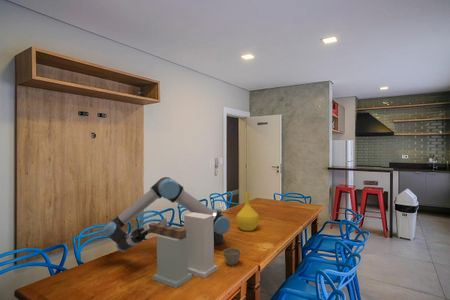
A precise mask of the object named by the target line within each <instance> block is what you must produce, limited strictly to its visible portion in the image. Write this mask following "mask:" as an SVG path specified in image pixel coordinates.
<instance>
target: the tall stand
mask: <svg viewBox="0 0 450 300" xmlns="http://www.w3.org/2000/svg"><path fill="white" fill-rule="evenodd" d="M183 223H184V225H183V226H184V227H183V229H186V236H188V273H191V274H192V276H196V277H199V278H202V279H205V278H207V277H209V276H210V275H211V274H213V273H214V272H216V271H218V269H219V267H218V266H219V265H217V264H215V249H214V248H215V247H214V246H215V245H214V229H213V215H208V214H202V213H195V212H193V213H191V212H189V213H187V214H184V215H183Z"/></svg>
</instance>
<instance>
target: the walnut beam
mask: <svg viewBox="0 0 450 300" xmlns="http://www.w3.org/2000/svg"><path fill="white" fill-rule="evenodd" d="M158 223H159V222H151V223H147V224H148V226H149V228H150V229H148V232H151V233H150V234H155V235H163V236H167V237H172V238H176V239H180V240H181V239H184V238H186V229H184V228H181V227H177V226H171V225H168V224H167V225H166V224H165V225H163V224H158Z"/></svg>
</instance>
